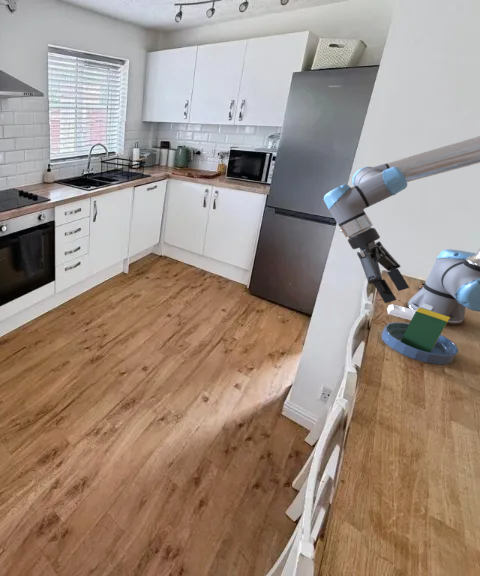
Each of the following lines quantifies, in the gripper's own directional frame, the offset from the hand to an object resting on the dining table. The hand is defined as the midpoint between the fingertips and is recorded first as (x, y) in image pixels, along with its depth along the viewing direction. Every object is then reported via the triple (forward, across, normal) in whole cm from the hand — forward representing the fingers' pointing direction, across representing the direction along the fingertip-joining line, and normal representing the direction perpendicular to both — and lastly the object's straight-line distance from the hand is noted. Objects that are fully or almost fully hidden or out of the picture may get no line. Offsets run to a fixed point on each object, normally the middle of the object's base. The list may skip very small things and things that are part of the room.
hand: (397, 295), depth 109 cm
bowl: (+16, 0, -3) cm, 16 cm away
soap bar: (+11, -20, -9) cm, 24 cm away
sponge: (+16, 0, -3) cm, 16 cm away
